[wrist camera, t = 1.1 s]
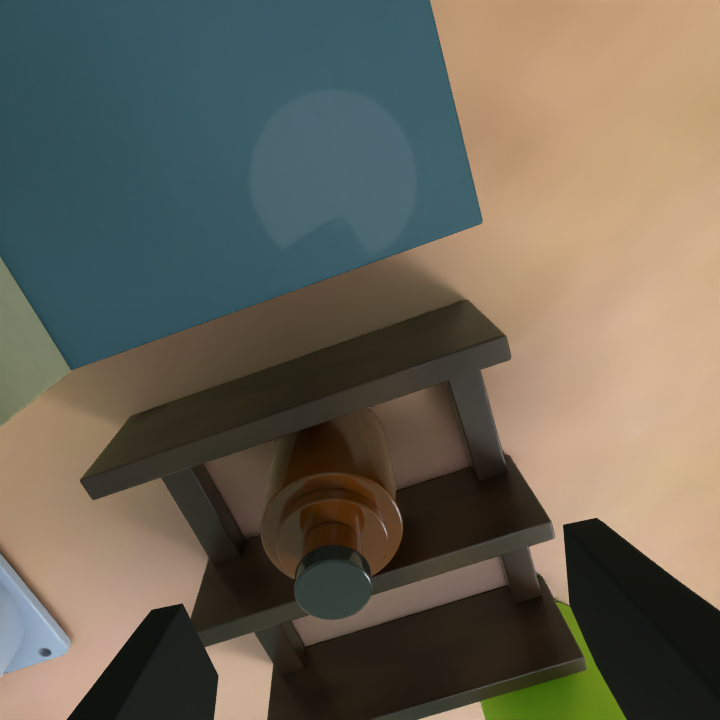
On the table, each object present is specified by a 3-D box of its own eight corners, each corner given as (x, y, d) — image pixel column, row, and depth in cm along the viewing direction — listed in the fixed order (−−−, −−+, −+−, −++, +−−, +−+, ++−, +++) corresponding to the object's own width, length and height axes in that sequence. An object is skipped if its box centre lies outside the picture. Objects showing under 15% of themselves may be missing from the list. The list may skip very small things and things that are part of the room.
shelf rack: (279, 668, 23) (271, 763, 20) (129, 416, 18) (78, 480, 14) (544, 587, 22) (588, 670, 19) (467, 298, 17) (506, 334, 13)
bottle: (300, 502, 20) (287, 668, 13) (259, 416, 18) (220, 556, 12) (398, 470, 20) (434, 623, 13) (364, 380, 18) (386, 502, 11)
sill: (76, 353, 17) (-46, 444, 11) (-146, -9, 13) (-501, -142, 7) (461, 215, 16) (532, 240, 11) (350, -221, 12) (369, -553, 7)
